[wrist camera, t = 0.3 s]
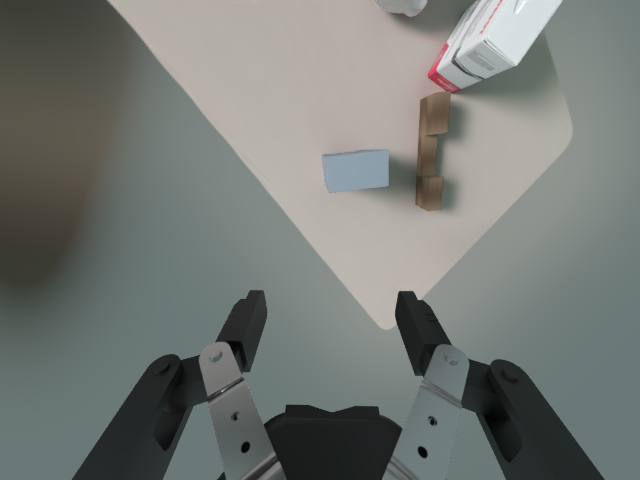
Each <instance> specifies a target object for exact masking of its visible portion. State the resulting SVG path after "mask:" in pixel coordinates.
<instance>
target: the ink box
mask: <svg viewBox="0 0 640 480" xmlns="http://www.w3.org/2000/svg"><path fill="white" fill-rule="evenodd" d="M562 1H563V0H477V1H476V2H475V3H474V4H473V5H471V6H470V7H469V8H468V9H467V10H466V11H465V12H464V14H463V15H462V17H461V19H460V20H459V22H458V24H457V25H456V27H455V29H454V30H453V32H452V34H451V35H450V37H449V39H448V41H447V42H446V44H445V46H444V47H443V49H442V51H441V53H440V54H439V56H438V58H437V59H436V61H435V63H434V65H433V66H432V68H431V70H430V71H429V73H428V78H430V79H431V80H433V81H434V82H435V83H436V84H438V85H439V86H440V87H442V88H443V89H445V90H447V91H451V93H454V92H456V91H458V90H461V89H463V88H465V87H468V86H470V85H472V84H475V83H477V82H479V81H482V80H484V79H486V78H489V77H491V76H493V75H496V74H498V73H501V72H503V71H505V70H508V69H510V68H513V67H515V66H517V65H518V64H519V62H520V61H521V60H522V58H523V57H524V55H525V54H526V52H527V51H528V50H529V48H530V47H531V45H532V44H533V43H534V41H535V40H536V38H537V37H538V35H539V34H540V33H541V31H542V30H543V28H544V27H545V25H546V24H547V23H548V21H549V20H550V18H551V17H552V15H553V14H554V13H555V11H556V10H557V8H558V7H559V5H560V4H561V2H562Z"/></svg>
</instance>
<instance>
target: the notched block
mask: <svg viewBox="0 0 640 480" xmlns="http://www.w3.org/2000/svg"><path fill="white" fill-rule="evenodd" d="M322 161H323V170H324V180H325V183H326V186H327V188H328V191H329V193H334V192H343V191H351V190H360V189H368V188H377V187H385V186H389V150H358V151H354V152H346V153H338V154H325V155H322Z"/></svg>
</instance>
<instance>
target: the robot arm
mask: <svg viewBox="0 0 640 480" xmlns="http://www.w3.org/2000/svg"><path fill="white" fill-rule="evenodd" d="M395 317H396V322H397V325H398V328H399V330H400V333H401V336H402V339H403V342H404V345H405V348H406V351H407V353H408V356H409V359H410V362H411V365H412V367H413V371H414V373H415V375H416V376H423V378H424V379H423V381H422V382H421V385H420V387H419V390H418V392H417V395H416V397H415V400H414V402H413V405H412V407H411V410H410V412H409V415H408V417H407V420H406V422H405V425H404V427H403V428H401V427H400V426H399V425H398V424H396V423H395V422H393V421H392V420H391V419H389V418H387V417H385V416H382V415H379V409H378V407H374V406H354V407H350V408H347V409H343V410H340V411H336V412H328V411H325V410H322V409H319V408H316V407H313V406H310V405H286V410H285V413H282V414H279V415H277V416H275V417H273V418H272V419H270V420H269V421H267V422H266V423H265V424H264V425H263V423H262V420H261V418H260V415H259V413H258V411H257V408H256V406H255V403H254V401H253V399H252V396H251V394H250V391H249V389H248V386H247V384H246V382H245V379H244V378H243V377H242V373H243V372H250V370H251V367H252V364H253V361H254V357H255V354H256V351H257V348H258V344H259V341H260V338H261V335H262V332H263V329H264V325H265V322H266V318H267V307H266V301H265V295H264V291H263V290H250V292H249V293H248V296H247V298H246V299H240V300H239V301H238V302H237V303H236V304H235V305H234V307H233V309H232V311H231V313H230V314H229V316H228V319H227V320H226V323H225V324H224V326H223V328H222V330H221V332H220V334H219V336H218V338H217V340H216V342H215V343H213V344H211V345H209V346H208V347H206V348H205V349H204V350H203V352H202V353H201V354H200V355H198V356H195V357H191V358H187V359H184V360H180V358H179V357H178V356H177V355H174V354H169V355H165V356H162V357H160V358H158V359H157V360H155V361H154V362H153V363H152V364H150V365H149V367H148V368H147V369H146V371H145V372H144V374H143V375H142V377H141V378H140V380H139V381H138V383H137V384H136V385H135V387H134V388H133V390H132V391H131V393H130V395H129V396H128V397H127V399H126V400H125V402H124V403H123V405H122V406H121V408H120V409H119V411H118V412H117V414H116V415H115V416H114V418H113V420H112V421H111V422H110V424H109V425H108V427H107V428H106V430H105V431H104V433H103V434H102V436H101V437H100V439H99V440H98V442H97V443H96V445H95V446H94V448H93V449H92V451H91V452H90V453H89V455H88V456H87V458H86V459H85V461H84V462H83V464H82V465H81V467H80V468H79V470H78V471H77V473H76V474H75V476H74V477H73V478H72V480H163V477H164V475H165V473H166V470H167V468H168V465H169V463H170V461H171V458H172V456H173V453H174V451H175V449H176V447H177V444H178V442H179V439H180V437H181V435H182V432H183V430H184V428H185V425H186V423H187V420H188V418H189V416H190V413H191V411H192V409H193V406H194V405H197V404H200V403H203V402H206V401H207V402H208V407H209V411H210V415H211V419H212V423H213V427H214V431H215V435H216V439H217V443H218V448H219V452H220V455H221V460H222V464H223V468H224V472H223V473H222V474H221V476H220V477H219V478H218V479H217V480H446V476H447V472H448V467H449V463H450V459H451V454H452V450H453V445H454V441H455V436H456V432H457V427H458V423H459V418H460V414H461V409H462V408H465V409H468V410H471V411H473V412H475V413H476V415H477V417H478V419H479V421H480V423H481V426H482V428H483V430H484V432H485V434H486V437H487V439H488V441H489V443H490V445H491V447H492V450H493V452H494V454H495V456H496V458H497V460H498V463H499V465H500V467H501V469H502V471H503V474H504V476H505V478H506V480H604V478H603V477H602V476H601V474H600V473H599V472H598V470H597V469H596V467H595V466H594V465H593V463H592V462H591V460H590V459H589V458H588V456H587V455H586V454H585V452H584V451H583V450H582V448H581V447H580V446H579V444H578V443H577V441H576V440H575V439H574V437H573V436H572V435H571V433H570V432H569V431H568V430H567V428H566V427H565V425H564V424H563V422H562V421H561V420H560V418H559V417H558V416H557V414H556V413H555V412H554V410H553V409H552V408H551V406H550V405H549V404H548V402H547V401H546V399H545V398H544V397H543V395H542V394H541V393H540V391H539V390H538V389H537V387H536V386H535V384H534V383H533V382H532V380H531V379H530V378H529V376H528V375H527V374H526V373H525V372H524V371H523V370H522V369H521V368H520V367H518V366H517V365H515V364H513V363H511V362H509V361H506V360H501V359H499V360H498V359H497V360H494V361H492V363H491V365H487V364H483V363H480V362H477V361H473V360H470V359H468V358H467V357H466V355H465V354H464V353H463V352H462V351H461V350H459V349H458V348H456V347H454V346H452V344H451V343H450V341H449V339H448V337H447V335H446V333H445V332H444V330H443V329H442V327H441V325H440V323H439V322H438V319H437V318H436V316H435V314H434V313H433V311H432V309H431V307H430V306H429V305H428V304H427V303H426V302H424V301H423V300H418V299H417V297H416V295H415V293H414V292H413V291H399V293H398V298H397V304H396V309H395Z"/></svg>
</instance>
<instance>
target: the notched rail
mask: <svg viewBox="0 0 640 480" xmlns="http://www.w3.org/2000/svg"><path fill="white" fill-rule="evenodd" d="M450 97H451V91H446V92H438V93H434V94H432V95H430V96H428V97H426V98H424V99H421V101H420V122H419V143H418V164H417V185H416V205H417V206H419V207H421V208H423V209H425V210H426V211H433V210H440V208H441V197H442V186H443V177H440V176H436V175H435V167H436V154H437V141H438V134H442V133H447V130H448V119H449V108H450Z"/></svg>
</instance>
